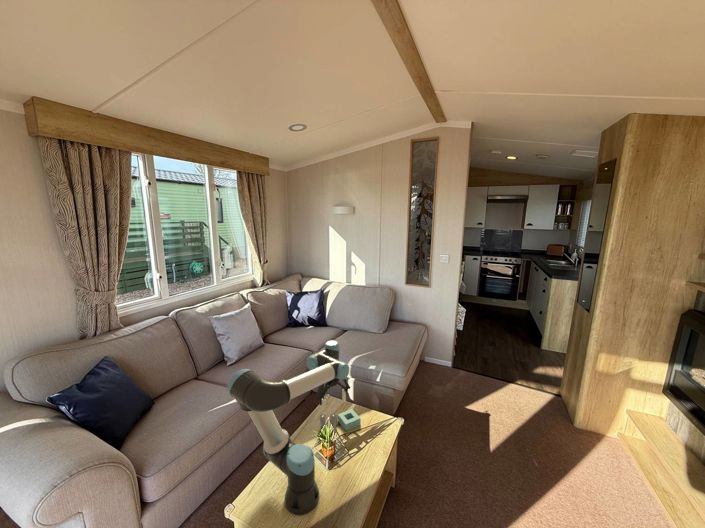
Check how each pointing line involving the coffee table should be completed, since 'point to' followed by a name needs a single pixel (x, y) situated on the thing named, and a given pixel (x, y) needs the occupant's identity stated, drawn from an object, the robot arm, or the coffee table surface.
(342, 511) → the coffee table surface
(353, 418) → the teal collar block
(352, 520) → the coffee table surface
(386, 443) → the coffee table surface
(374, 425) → the coffee table surface
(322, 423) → the medium steel pin
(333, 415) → the long steel pin
